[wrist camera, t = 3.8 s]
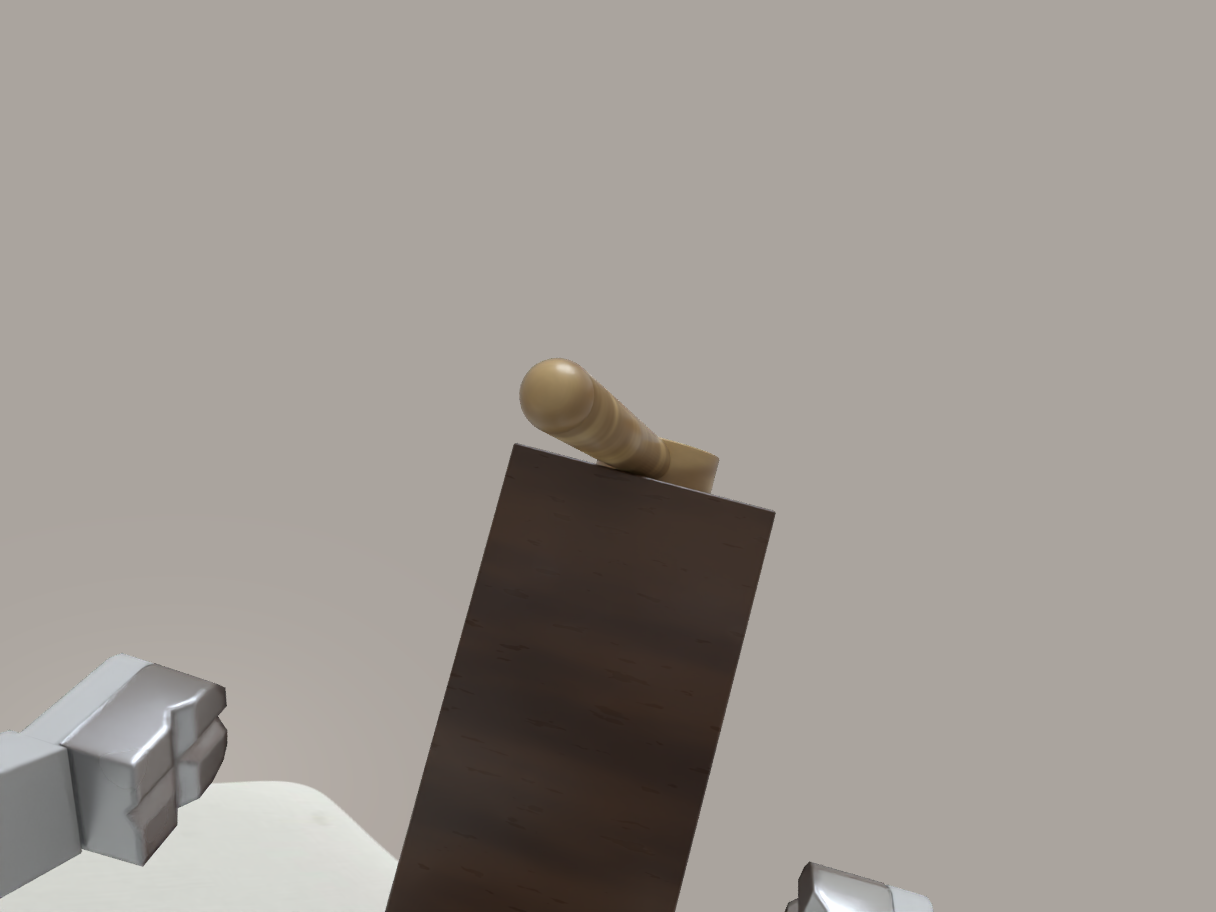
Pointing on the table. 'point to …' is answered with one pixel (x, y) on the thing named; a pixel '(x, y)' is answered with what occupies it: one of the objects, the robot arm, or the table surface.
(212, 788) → the table surface
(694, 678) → the stand
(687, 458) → the spoon
